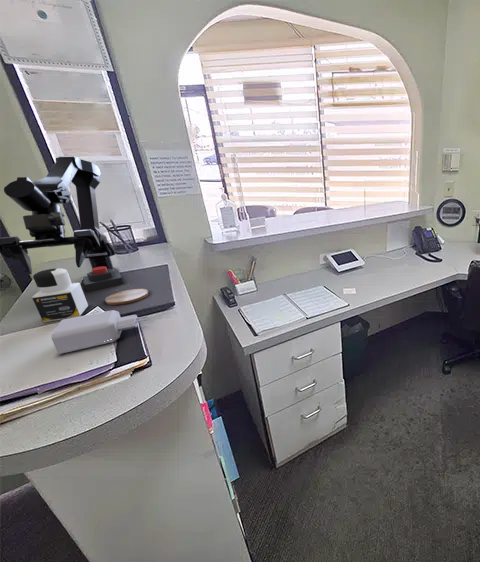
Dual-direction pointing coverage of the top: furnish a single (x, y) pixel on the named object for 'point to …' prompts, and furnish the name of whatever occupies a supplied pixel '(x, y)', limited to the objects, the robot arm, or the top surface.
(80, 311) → the medicine bottle
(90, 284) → the button block
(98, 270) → the call button
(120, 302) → the coaster
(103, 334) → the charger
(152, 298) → the top surface
